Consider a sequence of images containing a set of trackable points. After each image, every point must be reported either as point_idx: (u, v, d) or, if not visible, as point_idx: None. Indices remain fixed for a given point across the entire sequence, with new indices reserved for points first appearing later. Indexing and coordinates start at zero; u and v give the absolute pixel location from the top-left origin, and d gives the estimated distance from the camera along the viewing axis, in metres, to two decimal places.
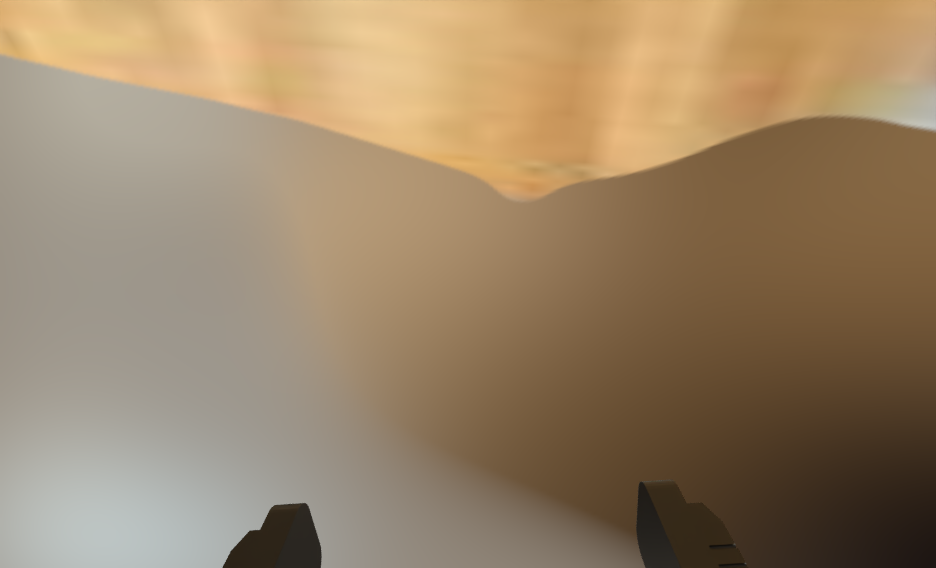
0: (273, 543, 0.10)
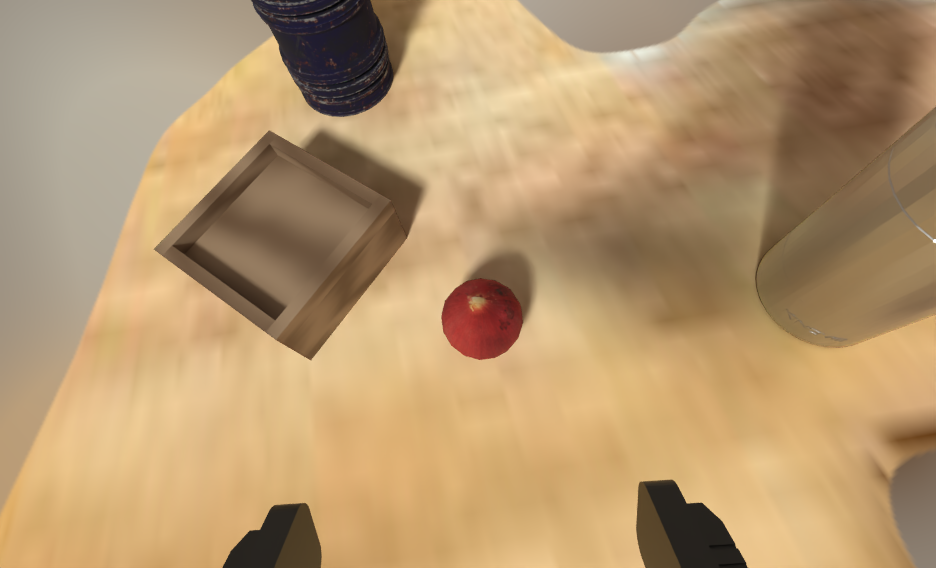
0: (273, 543, 0.10)
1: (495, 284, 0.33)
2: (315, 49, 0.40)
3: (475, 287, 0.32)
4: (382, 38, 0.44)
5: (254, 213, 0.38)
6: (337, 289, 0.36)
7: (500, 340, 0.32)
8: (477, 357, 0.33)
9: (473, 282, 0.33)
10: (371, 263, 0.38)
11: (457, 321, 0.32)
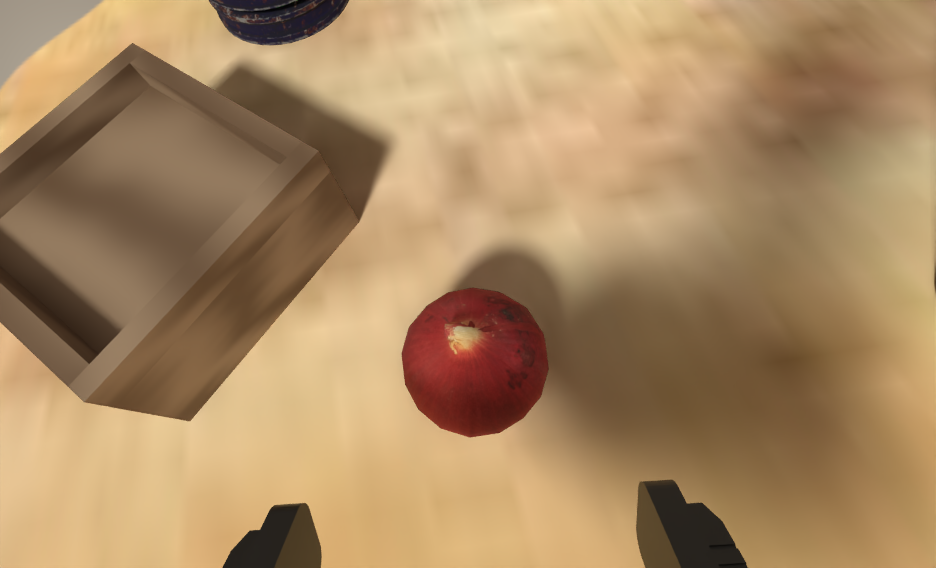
0: (273, 543, 0.10)
1: (499, 299, 0.18)
2: None
3: (462, 305, 0.17)
4: None
5: (99, 176, 0.23)
6: (224, 304, 0.21)
7: (508, 406, 0.17)
8: (465, 434, 0.18)
9: (459, 295, 0.18)
10: (293, 260, 0.23)
11: (427, 371, 0.17)
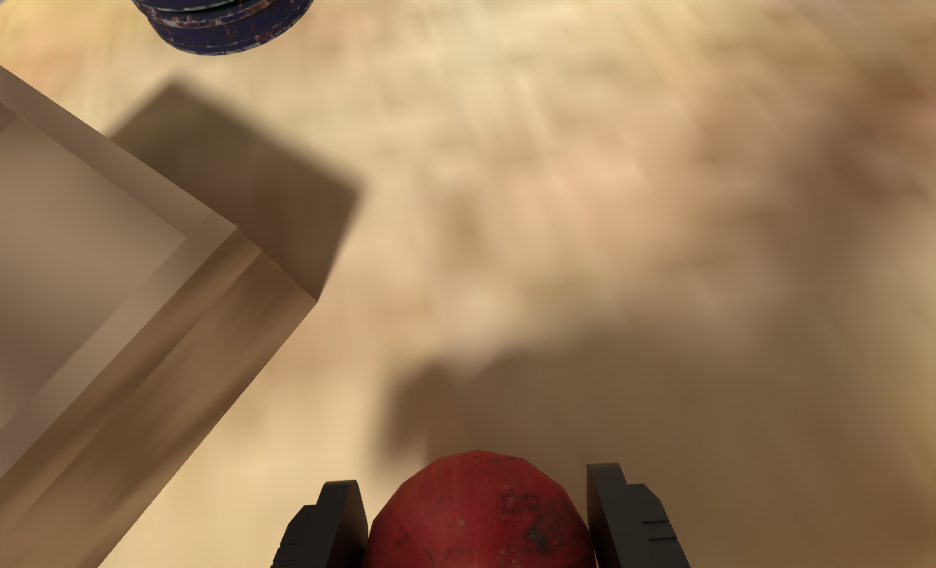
0: (330, 515, 0.11)
1: (522, 496, 0.11)
2: None
3: (460, 524, 0.10)
4: None
5: None
6: (91, 464, 0.13)
7: None
8: None
9: (453, 492, 0.10)
10: (212, 375, 0.16)
11: None
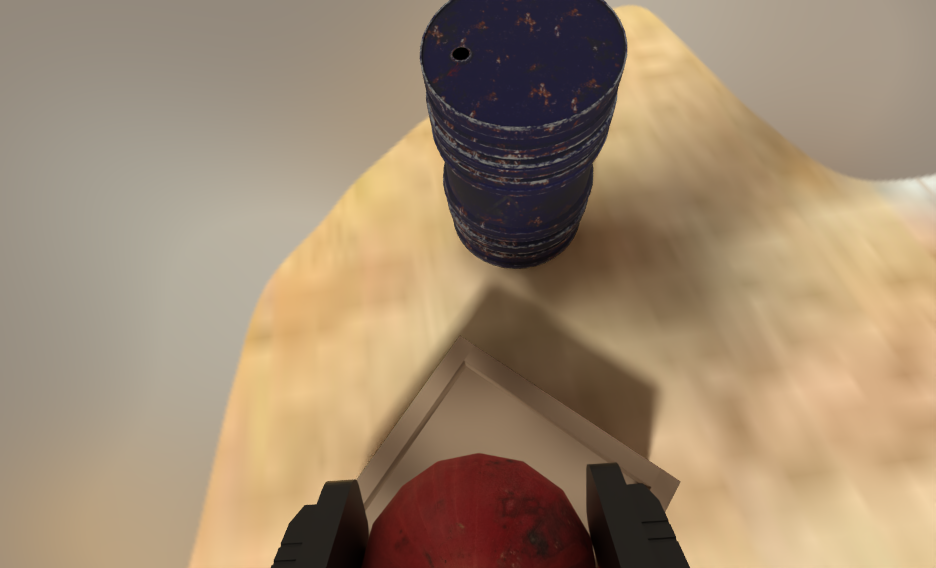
0: (331, 515, 0.11)
1: (522, 499, 0.11)
2: (523, 209, 0.27)
3: (459, 528, 0.10)
4: None
5: None
6: None
7: None
8: None
9: (453, 495, 0.10)
10: None
11: None
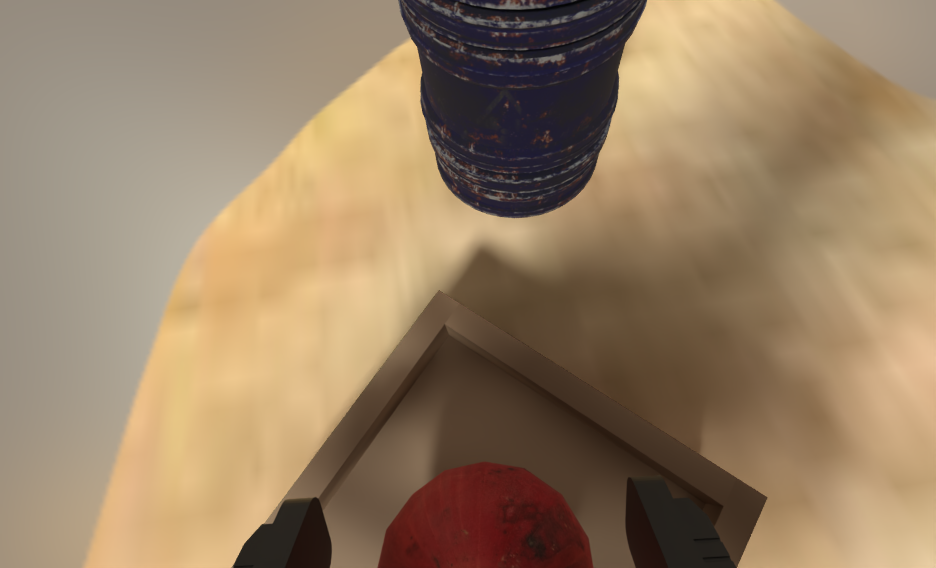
0: (286, 536, 0.10)
1: (521, 506, 0.12)
2: (527, 114, 0.19)
3: (464, 534, 0.11)
4: None
5: (416, 485, 0.17)
6: None
7: None
8: None
9: (458, 503, 0.11)
10: None
11: None
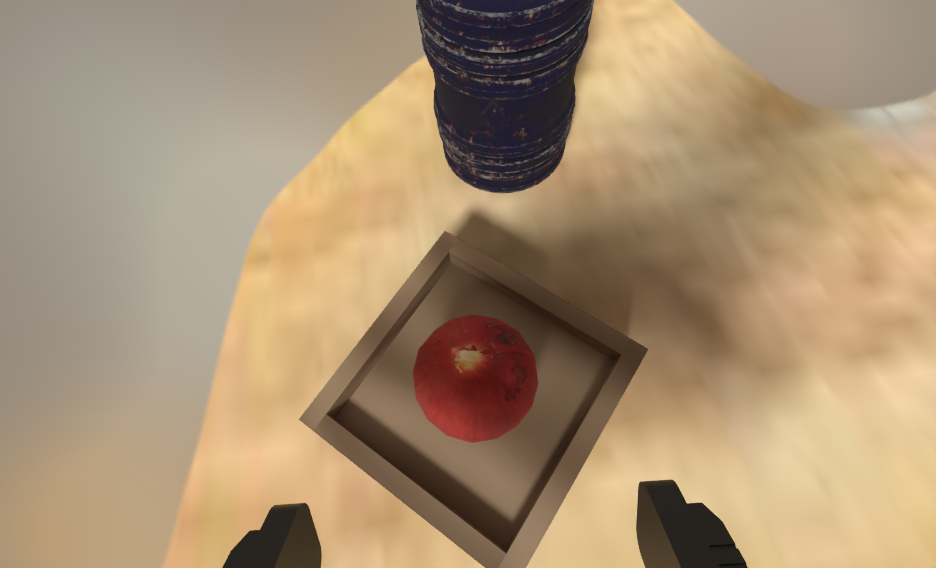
0: (273, 543, 0.10)
1: (496, 325, 0.21)
2: (508, 117, 0.29)
3: (465, 331, 0.20)
4: None
5: None
6: None
7: (505, 416, 0.20)
8: (468, 440, 0.21)
9: (462, 322, 0.21)
10: None
11: (436, 387, 0.20)
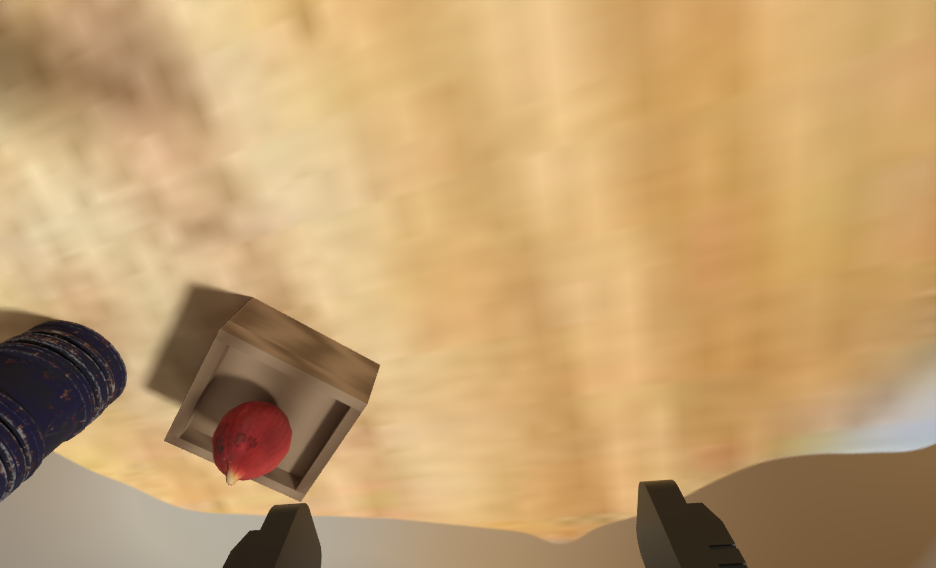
0: (273, 543, 0.10)
1: (214, 447, 0.36)
2: (54, 415, 0.38)
3: (219, 469, 0.36)
4: (10, 346, 0.39)
5: None
6: (316, 359, 0.40)
7: (267, 440, 0.36)
8: (288, 443, 0.38)
9: (216, 465, 0.36)
10: (286, 330, 0.41)
11: (255, 476, 0.36)
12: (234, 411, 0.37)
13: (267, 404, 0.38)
